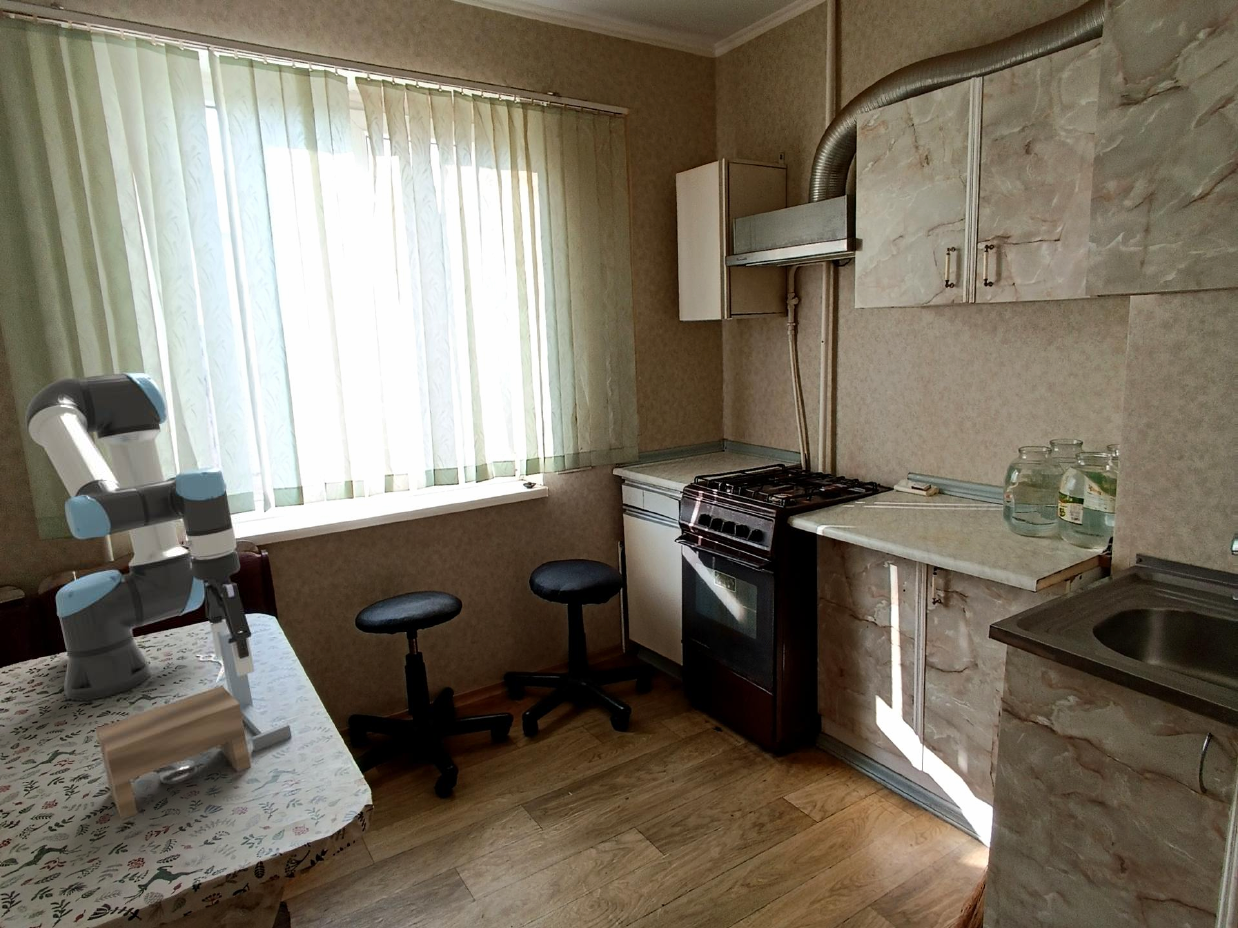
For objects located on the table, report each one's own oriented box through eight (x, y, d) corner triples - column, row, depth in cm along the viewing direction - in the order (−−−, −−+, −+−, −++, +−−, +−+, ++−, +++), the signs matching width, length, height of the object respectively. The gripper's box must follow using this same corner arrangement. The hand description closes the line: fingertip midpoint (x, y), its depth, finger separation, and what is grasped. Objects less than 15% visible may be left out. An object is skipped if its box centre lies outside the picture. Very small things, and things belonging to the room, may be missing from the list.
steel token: (158, 777, 123) (156, 769, 123) (192, 763, 126) (191, 756, 126) (165, 789, 119) (163, 781, 119) (200, 775, 122) (198, 767, 122)
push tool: (223, 715, 142) (208, 634, 139) (257, 702, 146) (243, 624, 143) (255, 751, 128) (238, 662, 125) (291, 736, 132) (276, 650, 129)
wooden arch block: (110, 792, 119) (96, 728, 117) (233, 744, 131) (221, 685, 129) (121, 819, 112) (106, 751, 110) (250, 766, 123) (239, 703, 121)
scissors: (247, 642, 177) (254, 670, 160) (248, 645, 177) (255, 674, 160) (196, 654, 172) (197, 686, 155) (196, 658, 172) (198, 689, 155)
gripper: (175, 549, 144) (195, 654, 148) (209, 570, 126) (232, 690, 129) (217, 539, 149) (237, 641, 153) (257, 558, 130) (277, 674, 134)
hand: (235, 663), depth 141 cm, fingers open, 13 cm apart
